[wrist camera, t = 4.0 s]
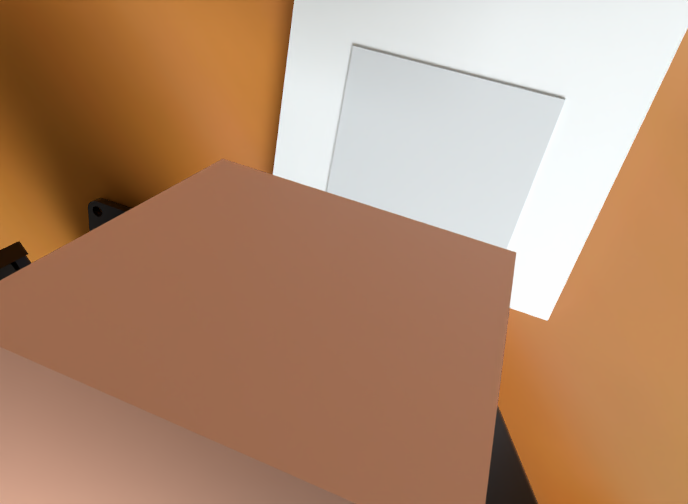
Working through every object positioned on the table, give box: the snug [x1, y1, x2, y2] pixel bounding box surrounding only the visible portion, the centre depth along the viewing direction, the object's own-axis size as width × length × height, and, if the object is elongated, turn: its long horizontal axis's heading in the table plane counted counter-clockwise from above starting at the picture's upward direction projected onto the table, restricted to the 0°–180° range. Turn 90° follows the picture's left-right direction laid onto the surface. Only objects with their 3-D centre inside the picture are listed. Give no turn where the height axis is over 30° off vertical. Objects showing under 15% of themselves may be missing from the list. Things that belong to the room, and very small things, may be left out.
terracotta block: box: [0, 159, 516, 504], centre depth 8 cm, size 5×5×5 cm
